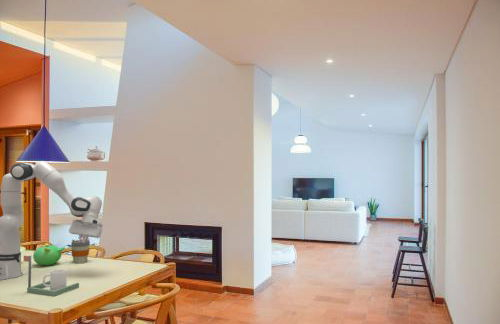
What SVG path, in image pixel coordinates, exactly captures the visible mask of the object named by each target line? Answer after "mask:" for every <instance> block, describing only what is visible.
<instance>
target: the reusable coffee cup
mask: <svg viewBox="0 0 500 324" xmlns="http://www.w3.org/2000/svg"><path fill="white" fill-rule="evenodd" d="M90 245H91V242H90V240H89V239H86V240H85V242H84V243H80V242H79V240H78V239H77V240H72V241H71V244H70V246H71V257H72V261H73V264H75V265H76V264H77V265H79V264H80V265H81V264H85V263H88V256H89V255H90V254H89V253H90Z"/></svg>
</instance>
